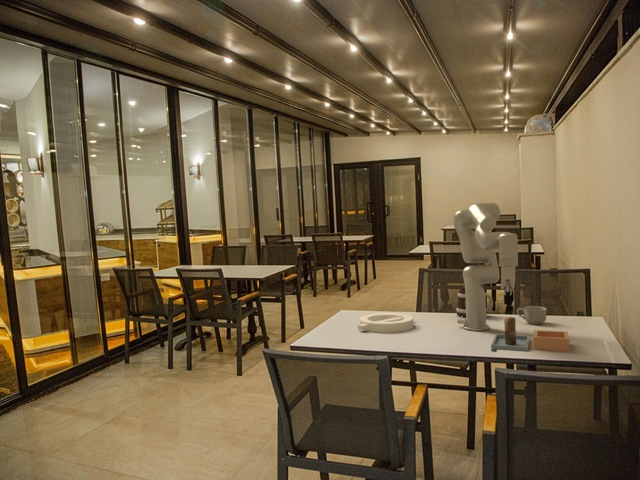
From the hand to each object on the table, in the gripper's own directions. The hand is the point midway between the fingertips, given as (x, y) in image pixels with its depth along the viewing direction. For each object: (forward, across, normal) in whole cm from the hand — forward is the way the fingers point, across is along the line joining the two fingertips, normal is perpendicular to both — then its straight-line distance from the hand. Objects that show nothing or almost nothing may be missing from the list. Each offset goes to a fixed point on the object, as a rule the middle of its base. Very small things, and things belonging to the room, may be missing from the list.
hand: (509, 302), depth 208 cm
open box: (+18, +1, +16) cm, 24 cm away
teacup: (+20, -49, +8) cm, 54 cm away
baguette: (+18, +1, 0) cm, 18 cm away
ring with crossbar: (+21, -24, -62) cm, 70 cm away
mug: (+21, -62, -22) cm, 69 cm away
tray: (+19, +1, 0) cm, 19 cm away
